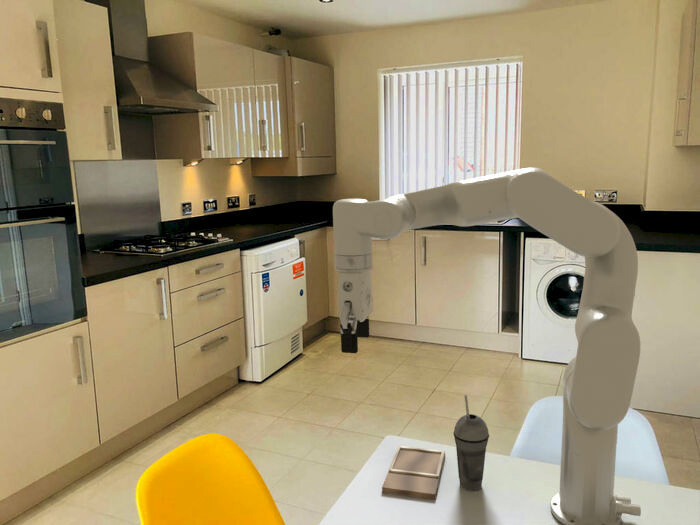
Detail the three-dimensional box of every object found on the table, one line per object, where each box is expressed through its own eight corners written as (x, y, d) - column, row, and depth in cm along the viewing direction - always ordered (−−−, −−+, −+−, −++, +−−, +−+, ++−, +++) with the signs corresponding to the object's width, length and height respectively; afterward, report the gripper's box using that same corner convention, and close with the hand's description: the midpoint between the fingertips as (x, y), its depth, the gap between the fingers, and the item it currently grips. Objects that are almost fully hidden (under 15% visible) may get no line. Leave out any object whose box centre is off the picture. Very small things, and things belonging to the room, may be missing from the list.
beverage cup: (488, 496, 119) (490, 404, 116) (452, 493, 121) (453, 402, 117) (487, 476, 126) (489, 389, 123) (453, 474, 128) (454, 387, 124)
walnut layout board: (445, 457, 135) (445, 450, 134) (435, 499, 119) (435, 492, 118) (398, 451, 138) (398, 445, 138) (382, 492, 122) (382, 485, 121)
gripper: (361, 271, 107) (363, 360, 110) (381, 254, 123) (382, 332, 126) (322, 270, 109) (325, 358, 112) (346, 253, 125) (349, 330, 128)
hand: (355, 344), depth 119 cm, fingers open, 9 cm apart
